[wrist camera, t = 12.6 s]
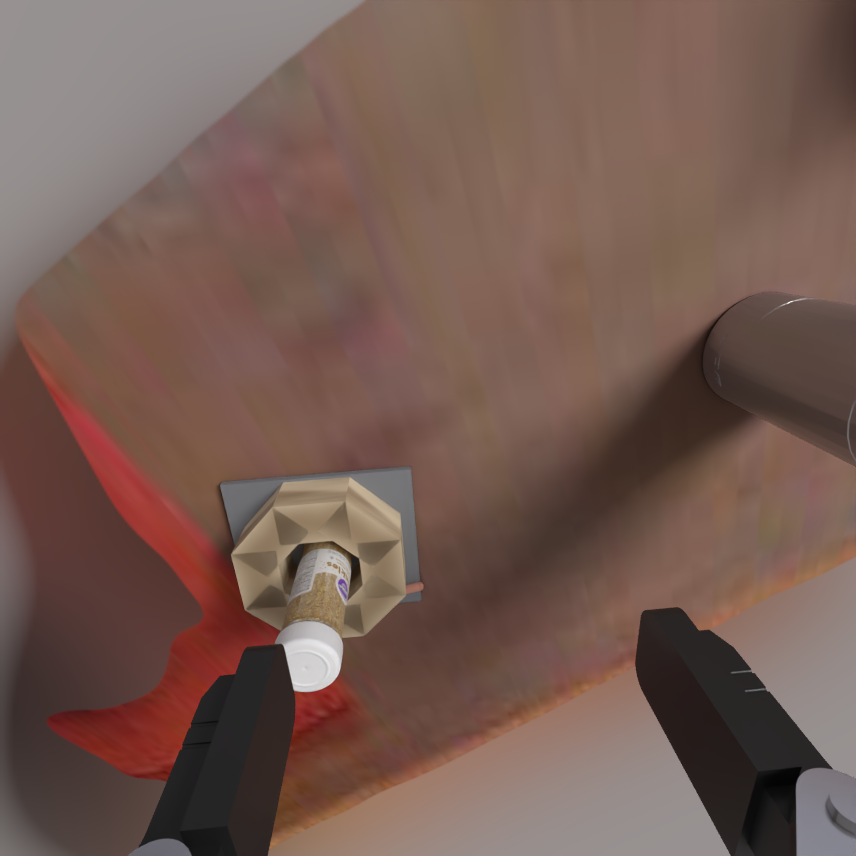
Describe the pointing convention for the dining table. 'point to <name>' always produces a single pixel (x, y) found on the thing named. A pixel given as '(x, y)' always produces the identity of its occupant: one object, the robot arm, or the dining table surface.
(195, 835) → the robot arm
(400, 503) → the mat
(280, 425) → the dining table surface
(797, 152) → the dining table surface
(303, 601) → the sprinkles bottle
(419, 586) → the reddish pink rod
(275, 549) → the octagonal faceted ring
